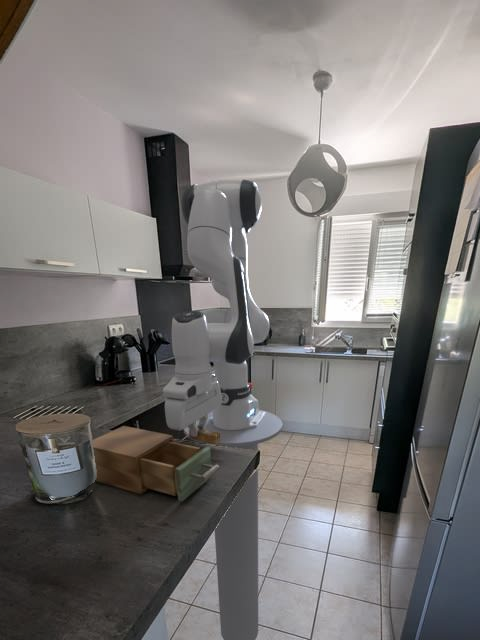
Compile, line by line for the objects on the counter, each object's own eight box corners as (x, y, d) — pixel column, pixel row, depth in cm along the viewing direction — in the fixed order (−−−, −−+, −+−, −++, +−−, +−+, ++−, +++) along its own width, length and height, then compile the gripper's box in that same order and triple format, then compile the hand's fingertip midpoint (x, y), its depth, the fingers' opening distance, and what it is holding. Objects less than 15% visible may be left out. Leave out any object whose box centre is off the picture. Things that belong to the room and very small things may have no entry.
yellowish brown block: (188, 439, 94) (187, 430, 93) (193, 436, 96) (193, 427, 95) (216, 445, 90) (215, 435, 89) (221, 441, 92) (220, 432, 91)
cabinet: (176, 469, 93) (173, 435, 90) (141, 494, 82) (135, 457, 78) (128, 457, 100) (123, 425, 96) (90, 479, 89) (82, 444, 85)
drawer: (226, 479, 86) (225, 450, 83) (198, 506, 76) (196, 474, 73) (162, 464, 94) (158, 437, 91) (128, 485, 84) (123, 456, 81)
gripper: (205, 371, 97) (209, 418, 103) (157, 391, 80) (164, 446, 86) (226, 373, 94) (228, 421, 100) (180, 395, 78) (186, 451, 84)
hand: (198, 433), depth 93 cm, fingers closed on yellowish brown block, 2 cm apart
